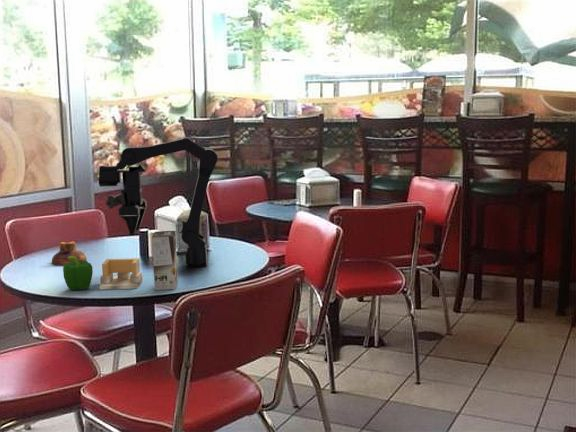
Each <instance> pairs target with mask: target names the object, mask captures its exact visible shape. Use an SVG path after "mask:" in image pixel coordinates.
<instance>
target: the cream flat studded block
mask: <svg viewBox="0 0 576 432" xmlns="http://www.w3.org/2000/svg"><path fill="white" fill-rule="evenodd" d="M142 273H143V272H142V271H139V273H138V274H137V276H132V273H131V274H130V273H116V274H117V275H114V273H110V274H109V275H108V276H107V277H103V274H102V275H101V276H100V278H99V280H100V282H99V283H100V285H99V290H124V289H125V290H127V289H132V290H133V289H138V288H139V287H140V286H141V284H142V282H143V280H144V274H142Z"/></svg>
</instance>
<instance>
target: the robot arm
mask: <svg viewBox="0 0 576 432" xmlns="http://www.w3.org/2000/svg"><path fill="white" fill-rule="evenodd" d="M182 151H186V152H188V153H189V154H191V155H192V156H194V157H195V158H197V159H199V162H198V177H197V180H196V184H195V189H194V191H193V192H194V193H193V197H192V201H191V206H190V211H189V212H188V213H189V214H188V216H187V218H184V217H183V218H182V224H181V227H180V228H179V233H180V234H181V236H180V237H181V240H182V241H183V243H185V244H186V245H187V247H186V251H185V252H184V253H185V264H186V267H189V268H191V267H193V268H194V267H207V266H208V253H207V252H208V251H207V245H206V238H205V237H204V236H203V235H202V234H201V233H200V225H201V224H200V222H201V215H202V211H203V207H204V202H205V198H206V193H207V189H208V185H209V181H210V178H211V176H212V174H213V171H214V170H215V167H216V166H217V165H216V164H217V162H218V154H217V153H216V151H215V150H214V149H212V148H209V147H208V148H205V147H203V146H202V145H200V144H199V143H196V142H195V141H193V140H192V139H191V138H189V137H186V136H185V137H183V138H180V139H176V140H175V139H174V140H170V141H166V142H162V143H156V144H153V145H148V146H147V145H146V146H145V145H144V146H142V145H138V146H129V147H126V148H124V149H123V150H122V152H121V154H120V161H118V162H117V163H116V165H108V166H107V165H100V166H99V167H98V178H97V179H98V186H99V188H102V187H104V188H105V187H107V188H108V187H118V186H119V184H121V182H122V189H121V191H120V193H119V194H117V195H114V194H111V195H109V196H107V199H105V205H106V206H108V210H112V209H114V207H117V206H120V207H119V209H118V211H117V212H118V216H119V217H120V218H122V219H123V220H124V221H125V222H126V226H127V229H128V232H129V235H130V236H134V235H135V232H136V231H139V230H140V228H141V224H142V221H143V218H144V215H145V213H146V210H147V207H148V201H147V200H146V199H145V198H143V197H142V192H143V187H142V182H141V179H142V178H141V173H145V172H146V170H147V169H146V168H145V167H144V166H143V164H142V163H141V162H144V161H146V160H148V159H151V158H155V157H158V156H164V155H168V154H173V153H178V152H182ZM137 164H139V165H137ZM134 165H137V166H134ZM127 166H128V169H125V168H127ZM121 174H122V175H121Z"/></svg>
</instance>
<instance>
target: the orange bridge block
mask: <svg viewBox="0 0 576 432" xmlns="http://www.w3.org/2000/svg"><path fill="white" fill-rule="evenodd" d="M101 270H102V275H103V277H107V276H108V275H109V274H110V273H113V274H117V273H129V274H130V273H131V274H132V276H137V274H138V273H139V272H141V266H140V258H138V257H137V258H136V257H135V258H134V257H133V258H106V259H105V260H104V261H103V262H102V263H101Z"/></svg>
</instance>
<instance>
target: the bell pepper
mask: <svg viewBox="0 0 576 432" xmlns="http://www.w3.org/2000/svg"><path fill="white" fill-rule="evenodd" d="M68 259H69V260H71V259H73V260H74V262H72V263H66V264H64V265H63V267H62V269H63V270H62V272H63V279H64V282H65V285H66V287H67V288H68V289H69V290H70V291H76V290H81V291H82V290H87V289H89V288H90V285H91V284H92V279H93V273H94V271H93V265H92V263H91V262H88V260H86V261H82V262H78V259H77V258H76V257H71V256H70V257H68Z"/></svg>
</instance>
